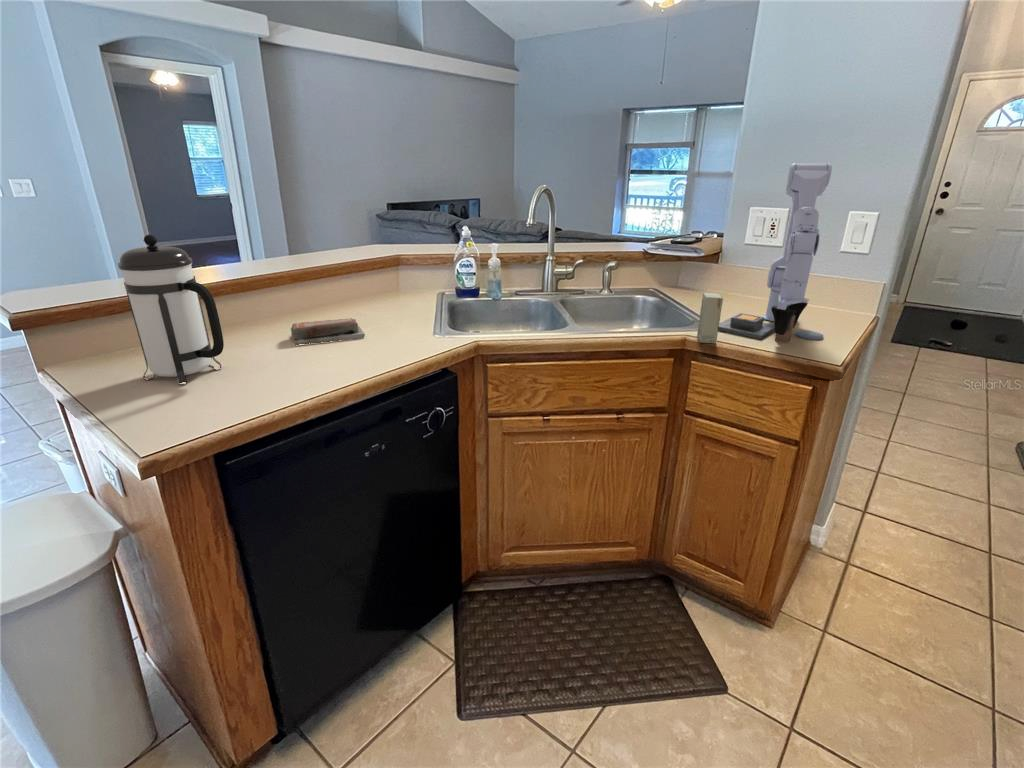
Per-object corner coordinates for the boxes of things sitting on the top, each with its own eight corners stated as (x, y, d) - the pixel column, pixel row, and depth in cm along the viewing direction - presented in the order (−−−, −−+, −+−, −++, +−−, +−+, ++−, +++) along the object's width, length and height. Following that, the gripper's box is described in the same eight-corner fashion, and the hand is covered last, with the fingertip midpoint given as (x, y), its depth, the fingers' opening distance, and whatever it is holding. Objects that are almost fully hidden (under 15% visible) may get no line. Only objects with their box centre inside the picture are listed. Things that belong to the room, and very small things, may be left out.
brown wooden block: (778, 337, 144) (783, 313, 142) (790, 340, 142) (795, 315, 140) (774, 340, 142) (779, 315, 140) (786, 342, 140) (792, 317, 138)
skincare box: (716, 344, 139) (724, 298, 134) (699, 343, 140) (706, 297, 135) (713, 336, 145) (720, 292, 140) (696, 335, 146) (703, 291, 141)
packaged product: (291, 330, 133) (288, 320, 142) (294, 348, 135) (291, 337, 143) (364, 322, 140) (357, 313, 149) (365, 339, 142) (359, 329, 150)
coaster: (799, 330, 150) (799, 328, 150) (826, 336, 146) (826, 333, 146) (791, 336, 146) (791, 334, 145) (818, 341, 141) (819, 339, 141)
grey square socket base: (732, 320, 160) (734, 309, 158) (777, 329, 152) (779, 317, 150) (713, 329, 151) (715, 317, 150) (760, 339, 143) (763, 326, 141)
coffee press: (136, 393, 107) (92, 242, 96) (150, 367, 121) (113, 231, 109) (232, 381, 114) (201, 237, 102) (235, 357, 127) (208, 228, 115)
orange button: (742, 318, 153) (742, 314, 153) (757, 321, 150) (758, 317, 150) (736, 321, 150) (736, 317, 150) (751, 324, 147) (752, 320, 147)
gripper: (803, 286, 129) (791, 340, 134) (820, 278, 138) (808, 328, 144) (773, 282, 133) (762, 334, 138) (791, 274, 143) (781, 323, 148)
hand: (784, 331), depth 141 cm, fingers open, 7 cm apart
